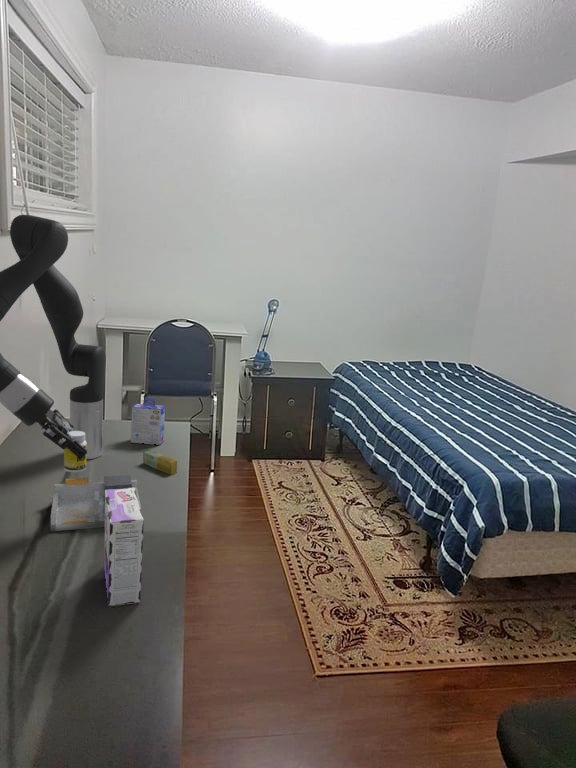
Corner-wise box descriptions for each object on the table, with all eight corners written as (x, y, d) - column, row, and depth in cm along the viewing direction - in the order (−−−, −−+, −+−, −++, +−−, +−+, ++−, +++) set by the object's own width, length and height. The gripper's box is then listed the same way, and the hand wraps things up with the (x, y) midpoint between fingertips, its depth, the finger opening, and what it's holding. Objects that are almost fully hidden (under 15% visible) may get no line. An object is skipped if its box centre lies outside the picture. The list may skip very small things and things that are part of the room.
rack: (54, 503, 131) (54, 470, 129) (136, 498, 137) (137, 466, 136) (50, 531, 118) (50, 494, 116) (141, 524, 125) (142, 489, 123)
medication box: (142, 464, 161) (142, 451, 160) (149, 461, 163) (149, 449, 162) (170, 475, 154) (170, 462, 153) (177, 473, 156) (178, 459, 155)
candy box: (103, 566, 107) (104, 488, 103) (134, 562, 109) (136, 486, 105) (107, 608, 94) (108, 521, 91) (142, 603, 96) (144, 518, 93)
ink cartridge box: (164, 440, 182) (166, 398, 179) (160, 445, 177) (162, 402, 174) (135, 437, 182) (136, 396, 179) (130, 443, 177) (131, 400, 174)
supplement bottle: (78, 474, 120) (79, 438, 118) (59, 470, 121) (59, 434, 119) (90, 467, 125) (91, 432, 123) (71, 463, 125) (72, 428, 124)
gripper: (35, 395, 110) (97, 450, 116) (41, 379, 123) (96, 430, 129) (6, 420, 109) (70, 474, 116) (15, 402, 122) (72, 451, 129)
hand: (84, 450), depth 122 cm, fingers closed on supplement bottle, 4 cm apart
